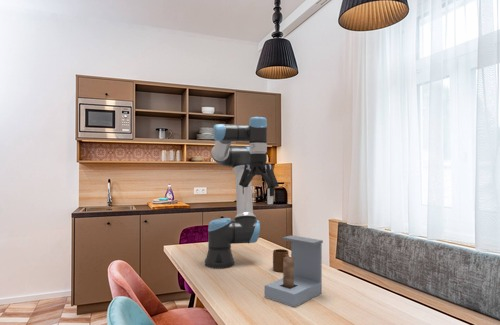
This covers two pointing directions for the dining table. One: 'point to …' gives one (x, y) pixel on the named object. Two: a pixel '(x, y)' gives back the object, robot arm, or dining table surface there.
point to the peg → (288, 272)
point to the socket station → (300, 273)
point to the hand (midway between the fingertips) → (257, 203)
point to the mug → (279, 259)
